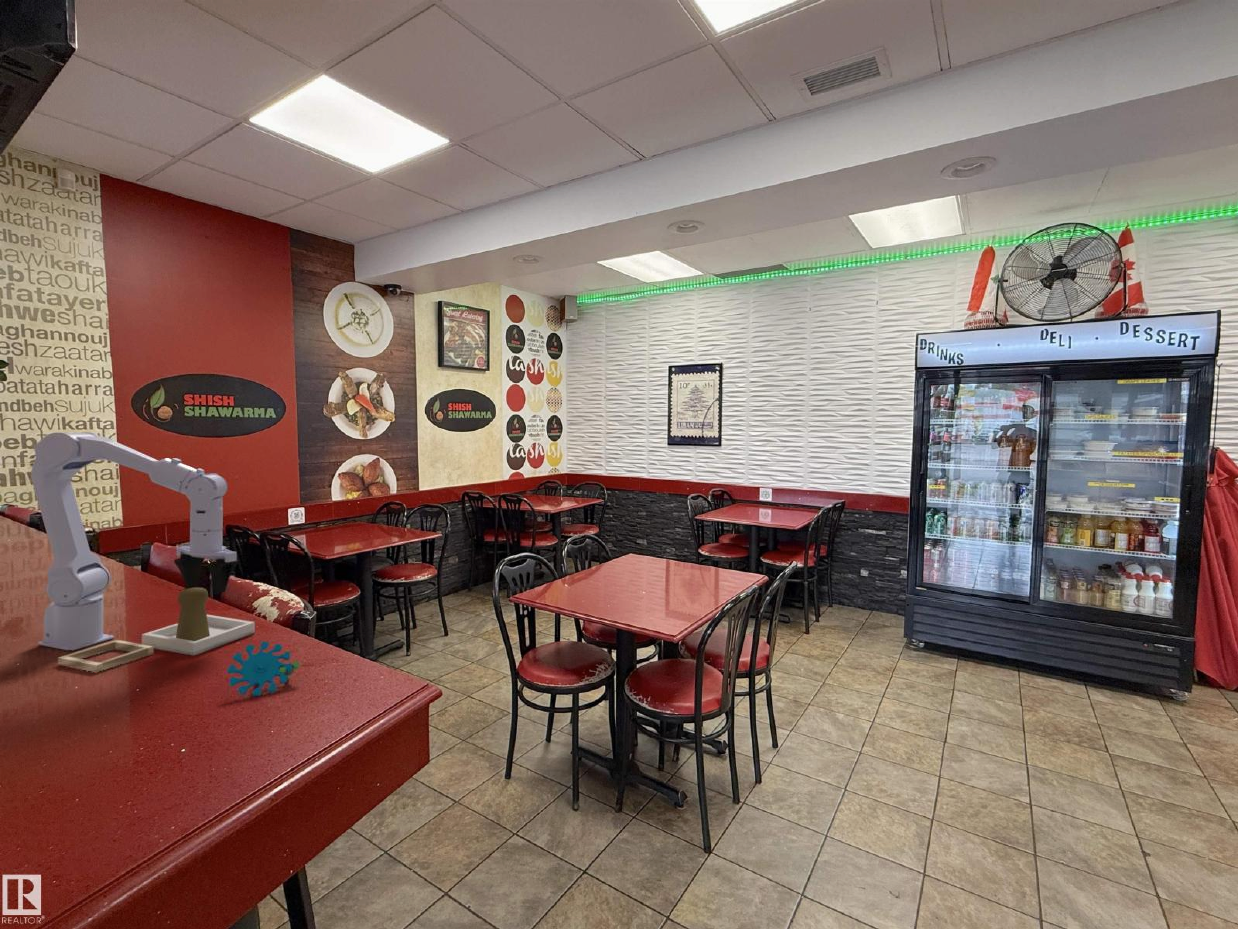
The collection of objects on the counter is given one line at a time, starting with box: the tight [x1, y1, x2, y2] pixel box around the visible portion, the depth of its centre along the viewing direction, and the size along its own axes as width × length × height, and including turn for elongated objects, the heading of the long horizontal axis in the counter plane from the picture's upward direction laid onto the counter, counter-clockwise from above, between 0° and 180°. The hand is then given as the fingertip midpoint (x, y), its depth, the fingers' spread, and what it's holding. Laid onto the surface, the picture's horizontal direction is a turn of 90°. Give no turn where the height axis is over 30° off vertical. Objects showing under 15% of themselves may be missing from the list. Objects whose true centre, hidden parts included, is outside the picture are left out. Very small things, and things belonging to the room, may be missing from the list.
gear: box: [226, 640, 301, 697], centre depth 102 cm, size 11×6×10 cm
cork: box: [176, 587, 210, 641], centre depth 120 cm, size 6×6×11 cm
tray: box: [141, 614, 256, 657], centre depth 121 cm, size 14×14×2 cm
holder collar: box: [57, 639, 155, 674], centre depth 109 cm, size 10×10×2 cm
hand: (206, 591), depth 122 cm, fingers open, 7 cm apart
